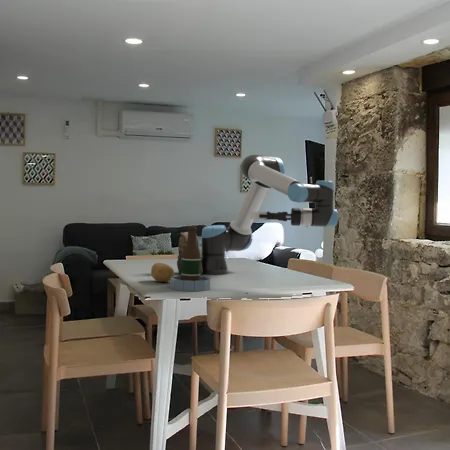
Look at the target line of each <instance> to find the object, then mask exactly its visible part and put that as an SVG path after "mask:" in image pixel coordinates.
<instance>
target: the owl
mask: <svg viewBox="0 0 450 450" xmlns="http://www.w3.org/2000/svg"><path fill="white" fill-rule="evenodd" d="M179 234H180V236H179V238H178V243H177V244H178V247H177V249H178V256H177V260H176V266H177V270H178V276H181V266H182V253H183V251H184V249H185V247H186V245H187V239H188V231H184V232H183V231H182V232H180V233H179ZM196 243H197V247H198V249H199V250H200V247H199V240H198V234H197V233H196ZM202 272H203V269H202V262H201V268H200V276H204V275H203V274H204V273H202Z"/></svg>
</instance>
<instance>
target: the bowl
mask: <svg viewBox="0 0 450 450" xmlns="http://www.w3.org/2000/svg"><path fill="white" fill-rule="evenodd" d="M169 285H170V286H169V288H170V289H171V290H174V291H175V290H176V291H181V292H204V291H209V290H211V277H208V276H204V275H200V280H198V281H189V280H181V275H174V276H173V277H171V278H170V281H169Z"/></svg>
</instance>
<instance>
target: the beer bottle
mask: <svg viewBox="0 0 450 450" xmlns="http://www.w3.org/2000/svg"><path fill="white" fill-rule="evenodd" d="M197 230H198V228H197V226H196V225H195V226H193V225H189V226H187V232H188V239H187V245H186V247H185V249H184V251H183V253H182V266H181V275H180V276H181V280H189V281H198V280H200V276H201V275H200V268H201V252H200V248H199V249H198V247H197V243H196V234H197Z"/></svg>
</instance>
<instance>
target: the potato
mask: <svg viewBox="0 0 450 450" xmlns="http://www.w3.org/2000/svg"><path fill="white" fill-rule="evenodd" d="M150 269H151V270H150V271H151V272H150V273H151V277H152V278H153V279H154V280H155V281H157V282H159V283H168V282H170V278H171V277H173V276H175V271H174V269H173V267H171V266H170V265H168V263H167V264H166V263H163V262H156V263H154V264H153V265H152V266H151V268H150Z"/></svg>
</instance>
